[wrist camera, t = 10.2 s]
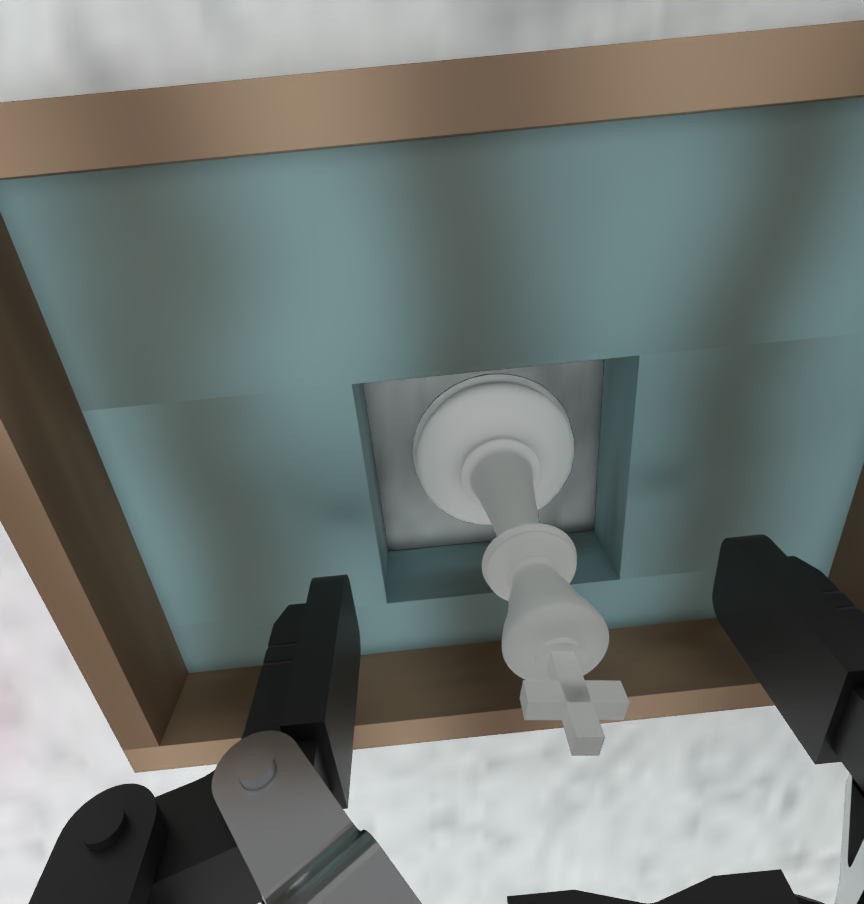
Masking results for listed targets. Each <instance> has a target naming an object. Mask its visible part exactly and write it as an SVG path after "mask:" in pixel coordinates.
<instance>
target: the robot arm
mask: <svg viewBox="0 0 864 904" xmlns="http://www.w3.org/2000/svg"><path fill="white" fill-rule="evenodd" d="M712 602H713V608H714V611H715V614H716V617H717V619H718V621H719V623H720V625H721V626H722V628H723V629H724V630H725V632H726V633H727V635H728V636H729V638H730V639H731V641H732V642H733V644H734V645H735V647H736V648H737V650H738V651H739V653H740V654H741V656H742V657H743V659H744V660H745V661H746V663H747V664H748V666H749V667H750V669H751V670H752V672H753V673H754V675H755V676H756V678H757V679H758V681H759V682H760V684H761V685H762V687H763V688H764V690H765V691H766V693H767V694H768V695H769V697H770V698H771V700H772V701H773V703H774V704H775V706H776V707H777V709H778V710H779V712H780V713H781V715H782V716H783V718H784V719H785V721H786V722H787V724H788V725H789V726H790V728H791V729H792V731H793V732H794V734H795V735H796V737H797V738H798V740H799V741H800V743H801V744H802V746H803V747H804V749H805V750H806V752H807V753H808V755H809V756H810V758H811V759H812V760H813V762H814V763H815V764H823V763H833V762H842V763H843V764H844V766H845V767H846V769H847V770H848V771H849V773H850V774H849V776H848V779H847V781H846V786H845V802H844V817H843V833H842V848H841V863H840V877H839V884H838V890H837V895H836V899H835V902H834V904H864V613H863V612H862V611H861V610H860V609H856V608H855V604H854V603H853V602H852V601H851V600H850V599H849V598H848V597H847V596H846V595H845V594H844V593H840V591H839V589H838V588H837V587H836V586H835V585H834V584H833V583H832V582H831V581H830V580H829V579H828V578H827V577H826V576H825V575H824V574H823V573H822V572H821V571H820V570H818V569H817V568H815V567H813V566H811V565H810V564H808V563H806V562H805V561H803V560H801V559H799V558H798V557H796V556H786V555H785V553H784V552H783V551H782V550H781V549H780V548H779V547H778V546H777V545H776V544H775V543H774V542H773V541H772V540H771V539H770V538H769V537H768V536H766V535H763V534H759V535H749V536H739V537H729V538H725V539H724V540H723V542H722V544H721V548H720V553H719V559H718V564H717V569H716V575H715V580H714V586H713V592H712ZM360 656H361V643H360V631H359V625H358V620H357V615H356V610H355V605H354V600H353V595H352V590H351V585H350V580H349V577H348V575H347V574H345V575H335V576H325V577H315V578H312V580H311V583H310V587H309V592H308V596H307V601H306V603H302V604H291V605H288V606H287V607H286V609H285V610H284V611H283V613H282V614H281V615H280V616H279V618H278V619H277V620H276V622H275V623H274V625H273V628H272V632H271V635H270V639H269V643H268V649H267V650H266V654H265V657H264V661H263V666H262V668H261V672H260V675H259V679H258V682H257V686H256V690H255V693H254V697H253V701H252V704H251V708H250V711H249V715H248V719H247V722H246V726H245V730H244V733H243V735H242V738H241V740H240V741H238V742H237V743H236V744H234V745H233V746H232V747H231V748H230V749H229V750H228V751H227V752H226V753H225V754H224V756H223V757H222V758H221V760H220V761H219V763H218V765H217V767H216V769H215V770H214V771H213V772H211V773H210V774H208V775H206V776H205V777H203V778H201V779H199V780H196V781H194V782H192V783H189V784H187V785H184V786H182V787H179V788H177V789H175V790H172V791H170V792H167V793H165V794H162V795H160V796H157V797H154V795H153V794H152V793H151V791H150V790H149V789H147V788H146V787H144V786H142V785H139V784H123V785H118V786H115V787H112V788H109V789H107V790H105V791H103V792H101V793H99V794H98V795H96V796H95V797H93V798H91V799H90V800H89V801H88V802H86V803H85V804H84V805H83V806H82V807H81V808H80V809H79V810H78V811H76V812H75V814H74V815H73V816H72V817H71V818H70V820H69V821H68V822H67V824H66V825H65V827H64V828H63V830H62V832H61V834H60V835H59V837H58V840H57V842H56V844H55V846H54V848H53V851H52V853H51V855H50V857H49V859H48V862H47V864H46V866H45V868H44V871H43V873H42V875H41V877H40V879H39V882H38V884H37V886H36V888H35V891H34V893H33V895H32V897H31V899H30V902H29V904H257V903H259V902H261V904H422V903H421V902H420V901H419V899H418V898H417V896H416V895H415V894H414V892H413V891H412V889H411V888H410V887H409V885H408V884H407V882H406V881H405V880H404V878H403V877H402V876H401V874H400V873H399V871H398V870H397V869H396V867H395V866H394V864H393V863H392V862H391V860H390V859H389V858H388V856H387V855H386V853H385V852H384V851H383V849H382V848H381V846H380V845H379V844H378V842H377V841H376V840H375V839H374V838H373V836H372V835H371V834H370V833H369V832H367V831H366V830H362V831H359V830H358V829H357V828H356V827H355V825H354V824H353V823H352V821H351V820H350V819H349V817H348V816H347V814H346V813H345V811H344V810H343V809H346V808H348V798H349V786H350V775H351V763H352V751H353V739H354V728H355V716H356V704H357V692H358V681H359V669H360ZM507 903H508V904H646V903H640V902H635V901H629V900H624V899H619V898H614V897H609V896H604V895H599V894H593V893H588V892H583V891H578V890H567V891H557V892H547V893H537V894H527V895H516V896H507ZM650 904H824V903H822V902H819V901H816V900H813V899H810V898H807V897H804V896H801V895H797V894H794V893H793V891H792V889H791V888H790V886H789V884H788V882H787V880H786V878H785V876H784V874H783V872H782V871H781V869H780V870H770V871H760V872H749V873H739V874H729V875H719V876H713V877H710V878H708V879H706V880H704V881H702V882H700V883H697V884H695V885H693V886H691V887H689V888H687V889H684V890H682V891H680V892H678V893H676V894H674V895H671V896H669V897H667V898H665V899H663V900H660V901H658V902H655V903H650Z"/></svg>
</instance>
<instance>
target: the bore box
mask: <svg viewBox="0 0 864 904" xmlns="http://www.w3.org/2000/svg"><path fill="white" fill-rule="evenodd" d="M599 359H604V372H603V389H602V406H601V423H600V440H599V457H598V474H597V490H596V507H595V524H594V531H585V532H576V533H566V534H567V535H568V536H569V537H570V538H571V540H572V541H573V543H574V546H575V548H576V553H577V566H576V572H575V574H574V577H573V579H572V581H571V582H570V583H569V584H570V585H571V586H572V588H573V589H574V590H575V591H576V592H577V593H578V594H579V595H580V596H582V597H583V598H585V599H586V600H587V601H588V602H589V603H590V604H591V605H592V606H593V607H594V608H595V609H596V610H597V611H598V612H599V613H600V615H601V616H602V617H603V619H604V620H605V622H606V624H607V627H608V631H609V645H608V648H607V651H606V653H605V655H604V657H603V658H602V660H601V661H600V662H599V664H598V665H597V666H596V667H595V668H594V669H592V670H591V671H590V672H589V673H587V674H585V675H584V676H583V677H584V680H614V681H621V683H622V685H623V688H624V690H625V692H626V695H627V697H628V700H629V702H630V703H629V706H628V709H627V712H626V715H625V718H624V720H599V722H600V724H601V723H610V722H620V721H629V720H639V719H648V718H658V717H667V716H677V715H686V714H696V713H705V712H714V711H724V710H733V709H743V708H752V707H762V706H771V705H775V704H774V703H773V701H772V700H771V698H770V697H769V695H768V694H767V693H766V691H765V690H764V688H763V687H762V685H761V684H760V682H759V681H758V679H757V678H756V676H755V675H754V673H753V672H752V670H751V669H750V667H749V666H748V664H747V663H746V661H745V660H744V659H743V657H742V656H741V654H740V653H739V651H738V650H737V648H736V647H735V645H734V644H733V642H732V641H731V639H730V638H729V636H728V635H727V633H726V632H725V630H724V629H723V628H722V626H721V625H720V623H719V621H718V619H717V617H716V614H715V611H714V608H713V602H712V592H713V586H714V580H715V575H716V569H717V564H718V559H719V553H720V548H721V544H722V542H723V540H724V539H725V538H729V537H739V536H749V535H759V534H763V535H766V536H768V537H769V538H770V539H771V540H772V541H773V542H774V543H775V544H776V545H777V546H778V547H779V548H780V549H781V550H782V551H783V552H784V553H785V555H786V556H796V557H798V558H799V559H801V560H803V561H805V562H806V563H808V564H810V565H811V566H813V567H815V568H817V569H818V570H820V571H821V572H822V573H823V574H824V575H825V576H826V577H827V578H828V579H829V580H830V581H831V582H832V583H833V584H834V585H835V586H836V587H837V588H838V589H839V591H840V593H844V594H845V595H846V596H847V597H848V598H849V599H850V600H851V601H852V602H853V603H854V604H855V608H856V609H860V610H861V611H862V612H863V613H864V20H863V21H852V22H842V23H831V24H821V25H810V26H800V27H789V28H779V29H768V30H758V31H747V32H737V33H726V34H716V35H705V36H695V37H684V38H674V39H663V40H653V41H642V42H632V43H621V44H611V45H600V46H590V47H579V48H569V49H558V50H548V51H537V52H527V53H516V54H506V55H495V56H485V57H474V58H464V59H453V60H443V61H432V62H422V63H411V64H401V65H390V66H380V67H369V68H359V69H348V70H338V71H327V72H317V73H306V74H296V75H285V76H275V77H264V78H254V79H243V80H233V81H222V82H212V83H201V84H191V85H180V86H170V87H159V88H149V89H138V90H128V91H117V92H107V93H96V94H86V95H75V96H65V97H54V98H44V99H33V100H23V101H12V102H2V103H0V521H1V523H2V525H3V527H4V528H5V530H6V532H7V534H8V536H9V538H10V540H11V542H12V543H13V545H14V547H15V549H16V551H17V553H18V555H19V557H20V558H21V560H22V562H23V564H24V566H25V568H26V570H27V572H28V573H29V575H30V577H31V579H32V581H33V583H34V585H35V587H36V588H37V590H38V592H39V594H40V596H41V598H42V600H43V601H44V603H45V605H46V607H47V609H48V611H49V613H50V615H51V616H52V618H53V620H54V622H55V624H56V626H57V628H58V630H59V631H60V633H61V635H62V637H63V639H64V641H65V643H66V645H67V646H68V648H69V650H70V652H71V654H72V656H73V658H74V660H75V661H76V663H77V665H78V667H79V669H80V671H81V673H82V674H83V676H84V678H85V680H86V682H87V684H88V686H89V688H90V689H91V691H92V693H93V695H94V697H95V699H96V701H97V703H98V704H99V706H100V708H101V710H102V712H103V714H104V716H105V718H106V719H107V721H108V723H109V725H110V727H111V729H112V731H113V733H114V734H115V736H116V738H117V740H118V742H119V744H120V746H121V747H122V749H123V751H124V753H125V755H126V757H127V759H128V761H129V762H130V764H131V766H132V768H133V770H134V772H135V773H137V772H146V771H156V770H165V769H175V768H184V767H194V766H203V765H213V764H218V763H219V761H220V760H221V758H222V757H223V756H224V754H225V753H226V752H227V751H228V750H229V749H230V748H231V747H232V746H233V745H234V744H236V743H237V742H238V741H240V740H241V738H242V735H243V733H244V730H245V726H246V722H247V719H248V715H249V711H250V708H251V704H252V701H253V697H254V693H255V690H256V686H257V682H258V679H259V675H260V672H261V668H262V666H263V661H264V657H265V654H266V650H267V649H268V643H269V639H270V635H271V632H272V628H273V625H274V623H275V622H276V620H277V619H278V618H279V616H280V615H281V614H282V613H283V611H284V610H285V609H286V607H287V606H288V605H291V604H302V603H306V601H307V596H308V592H309V587H310V583H311V580H312V578H315V577H325V576H335V575H345V574H347V575H348V577H349V580H350V585H351V590H352V595H353V600H354V605H355V610H356V615H357V620H358V625H359V631H360V643H361V656H360V669H359V681H358V692H357V704H356V716H355V728H354V739H353V750H355V749H364V748H374V747H383V746H392V745H402V744H411V743H421V742H430V741H440V740H449V739H459V738H468V737H478V736H487V735H497V734H506V733H516V732H525V731H535V730H544V729H553V728H563V727H564V726H563V723H562V720H524V716H523V711H522V707H521V702H520V693H521V688H522V683H523V680H525V679H523V678H521V677H519V676H518V675H516V674H515V673H514V672H513V671H512V670H511V669H510V668H509V667H508V665H507V664H506V662H505V660H504V657H503V654H502V634H503V628H504V623H505V620H506V617H507V613H508V606H509V601H507V600H504V599H503V598H501V597H499V596H498V595H497V594H495V593H494V592H493V590H492V589H491V588H490V586H489V585H488V584H487V582H486V581H485V579H484V576H483V573H482V559H483V555H484V552H485V551H486V549H487V547H488V545H489V544H490V543H491V542H492V541H488V542H478V543H468V544H459V545H449V546H439V547H429V548H420V549H410V550H400V551H390V552H388V547H387V541H386V534H385V528H384V521H383V514H382V508H381V501H380V495H379V488H378V482H377V475H376V468H375V462H374V455H373V449H372V442H371V435H370V429H369V422H368V416H367V409H366V402H365V396H364V389H363V383H369V382H379V381H389V380H399V379H409V378H419V377H429V376H439V375H449V374H459V373H469V372H479V371H489V370H499V369H509V368H519V367H529V366H539V365H549V364H559V363H569V362H579V361H589V360H599Z"/></svg>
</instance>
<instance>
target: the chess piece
mask: <svg viewBox="0 0 864 904" xmlns="http://www.w3.org/2000/svg"><path fill="white" fill-rule="evenodd" d="M413 460H414V465H415V469H416V472H417V475H418V477H419V480H420V483H421V485H422V487H423V489H424V491H425V492H426V494H427V495H428V497H429V498H430V499H431V500H432V502H433V503H434V504H435V505H436V506H438V507H439V508H440V509H441V510H443V511H444V512H446V513H447V514H449V515H451V516H453V517H455V518H457V519H459V520H462V521H465V522H469V523H474V524H481V525H492V527H493V529H494V531H495V533H496V535H497V537H496V538H494V539H493V540H492V542H491V543H490V544H489V545H488V547H487V549H486V551H485V552H484V555H483V559H482V573H483V576H484V579H485V581H486V582H487V584H488V585H489V586H490V588H491V589H492V590H493V592H494V593H495V594H497V595H498V596H499V597H501V598H503V599H504V600H507V601H509V606H508V613H507V617H506V620H505V623H504V628H503V634H502V654H503V657H504V660H505V662H506V664H507V665H508V667H509V668H510V669H511V670H512V671H513V672H514V673H515V674H516V675H518V676H519V677H521V678H523V679H525V680H523V683H522V688H521V693H520V702H521V707H522V711H523V716H524V720H562V723H563V726H564V730H565V733H566V737H567V740H568V743H569V747H570V750H571V754H572V756H578V755H599V754H600V751H601V748H602V745H603V742H604V738H605V736H604V733H603V730H602V728H601V725H600V722H599V720H624V718H625V715H626V712H627V709H628V706H629V703H630V702H629V700H628V697H627V695H626V692H625V690H624V688H623V685H622V683H621V681H614V680H584V677H583V676H584V675H585V674H587V673H589V672H590V671H591V670H592V669H594V668H595V667H596V666H597V665H598V664H599V662H600V661H601V660H602V658H603V657H604V655H605V653H606V651H607V648H608V645H609V631H608V627H607V624H606V622H605V620H604V619H603V617H602V616H601V615H600V613H599V612H598V611H597V610H596V609H595V608H594V607H593V606H592V605H591V604H590V603H589V602H588V601H587V600H586V599H585V598H583V597H582V596H580V595H579V594H578V593H577V592H576V591H575V590H574V589H573V588H572V586H571V585H570V584H569V583H570V582H571V581H572V579H573V577H574V574H575V572H576V566H577V553H576V548H575V546H574V543H573V541H572V540H571V538H570V537H569V536H568V535H567V534H566V533H565V532H563V531H562V530H560V529H559V528H557V527H554V526H552V525H548V524H543V523H540V521H539V515H538V510H540V509H541V508H543V507H544V506H545V505H546V504H548V503H549V502H550V501H551V500H552V499H553V498H554V497H555V496H556V495H557V494H558V492H559V491H560V490H561V488H562V487H563V485H564V484H565V482H566V480H567V478H568V476H569V474H570V471H571V468H572V464H573V460H574V438H573V433H572V430H571V426H570V422H569V419H568V417H567V414H566V412H565V410H564V409H563V407H562V405H561V404H560V403H559V401H558V400H557V399H556V398H555V397H554V396H553V395H552V394H551V393H550V392H549V391H548V390H546V389H545V388H544V387H542V386H540V385H539V384H537V383H535V382H533V381H531V380H528V379H525V378H522V377H518V376H514V375H506V374H491V375H483V376H478V377H474V378H471V379H468V380H465V381H463V382H461V383H458V384H456V385H455V386H453V387H451V388H450V389H448V390H447V391H445V392H444V393H443V394H441V395H440V396H439V397H438V398H437V399H436V400H435V401H434V402H433V403H432V404H431V405H430V406H429V407H428V409H427V410H426V412H425V413H424V415H423V416H422V418H421V420H420V422H419V424H418V426H417V429H416V432H415V436H414V441H413Z"/></svg>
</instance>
